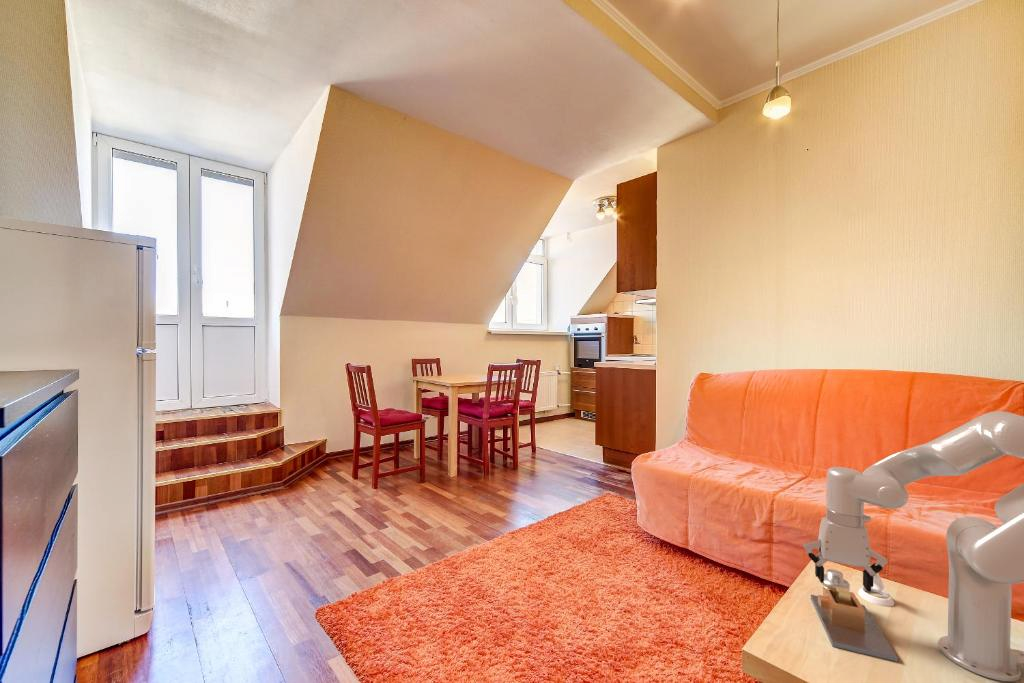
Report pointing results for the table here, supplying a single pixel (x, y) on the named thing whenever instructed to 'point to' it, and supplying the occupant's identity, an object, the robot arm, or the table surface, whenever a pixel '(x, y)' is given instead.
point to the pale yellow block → (843, 596)
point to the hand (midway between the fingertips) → (843, 584)
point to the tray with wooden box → (849, 621)
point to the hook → (877, 588)
